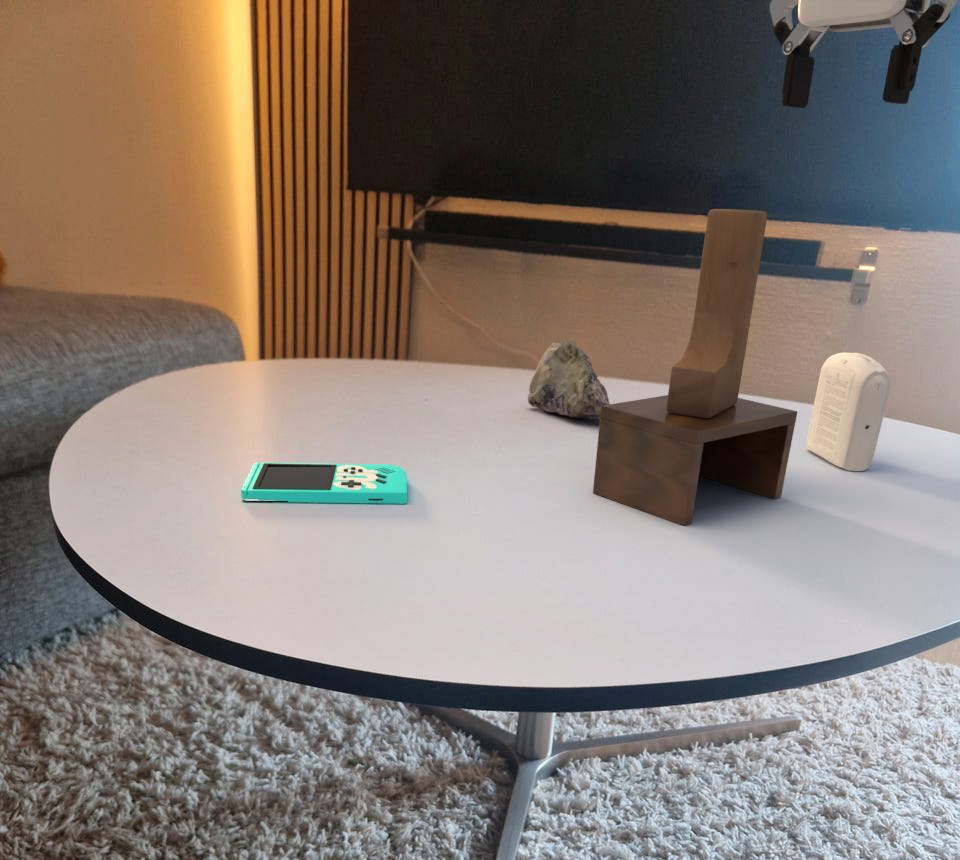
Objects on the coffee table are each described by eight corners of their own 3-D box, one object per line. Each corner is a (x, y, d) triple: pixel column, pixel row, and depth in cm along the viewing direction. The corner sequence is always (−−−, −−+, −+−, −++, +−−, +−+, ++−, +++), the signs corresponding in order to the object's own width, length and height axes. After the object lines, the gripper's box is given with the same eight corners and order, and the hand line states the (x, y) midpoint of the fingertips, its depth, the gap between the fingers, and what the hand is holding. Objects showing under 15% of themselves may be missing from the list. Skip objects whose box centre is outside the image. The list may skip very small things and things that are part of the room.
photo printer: (876, 471, 108) (902, 362, 102) (842, 472, 107) (866, 362, 101) (831, 448, 117) (852, 346, 111) (799, 448, 116) (819, 346, 110)
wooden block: (709, 420, 88) (740, 211, 80) (664, 413, 90) (690, 208, 82) (737, 404, 95) (769, 211, 87) (695, 398, 97) (722, 208, 89)
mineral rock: (613, 429, 121) (621, 350, 116) (530, 426, 120) (536, 347, 116) (601, 407, 132) (608, 334, 128) (525, 404, 132) (530, 331, 127)
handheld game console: (407, 504, 90) (407, 491, 89) (239, 502, 89) (238, 489, 88) (406, 474, 99) (406, 462, 98) (254, 472, 98) (253, 459, 97)
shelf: (781, 497, 97) (797, 411, 93) (683, 525, 88) (697, 431, 84) (690, 469, 105) (702, 389, 101) (592, 493, 96) (601, 405, 92)
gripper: (1017, -156, 70) (959, 104, 78) (814, -111, 82) (781, 111, 90) (973, -181, 66) (916, 97, 73) (765, -130, 78) (735, 105, 85)
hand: (842, 105), depth 82 cm, fingers open, 9 cm apart
